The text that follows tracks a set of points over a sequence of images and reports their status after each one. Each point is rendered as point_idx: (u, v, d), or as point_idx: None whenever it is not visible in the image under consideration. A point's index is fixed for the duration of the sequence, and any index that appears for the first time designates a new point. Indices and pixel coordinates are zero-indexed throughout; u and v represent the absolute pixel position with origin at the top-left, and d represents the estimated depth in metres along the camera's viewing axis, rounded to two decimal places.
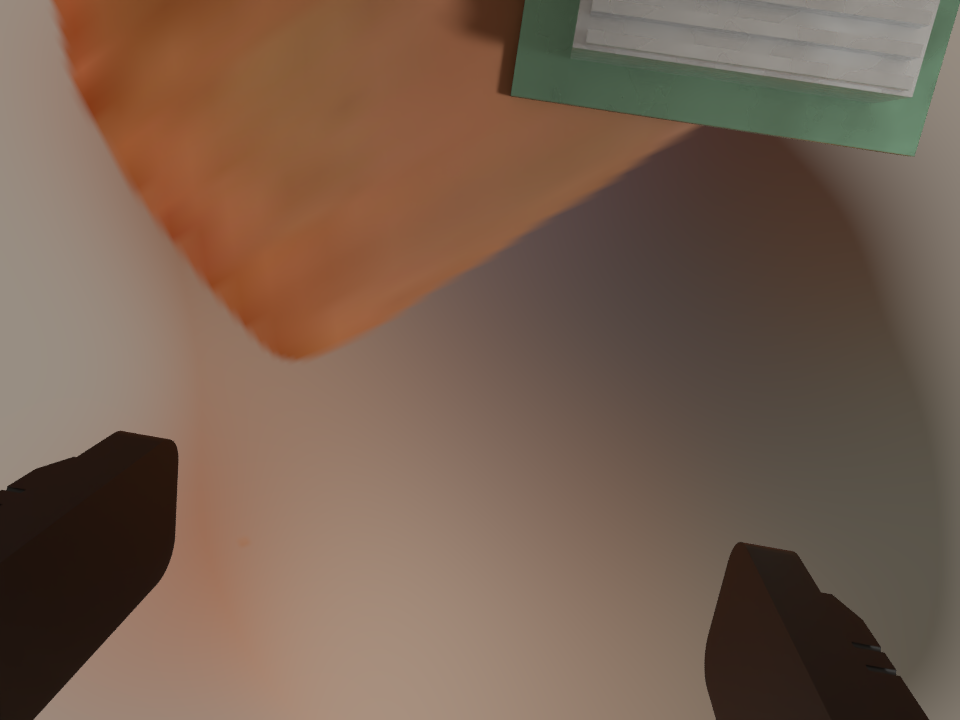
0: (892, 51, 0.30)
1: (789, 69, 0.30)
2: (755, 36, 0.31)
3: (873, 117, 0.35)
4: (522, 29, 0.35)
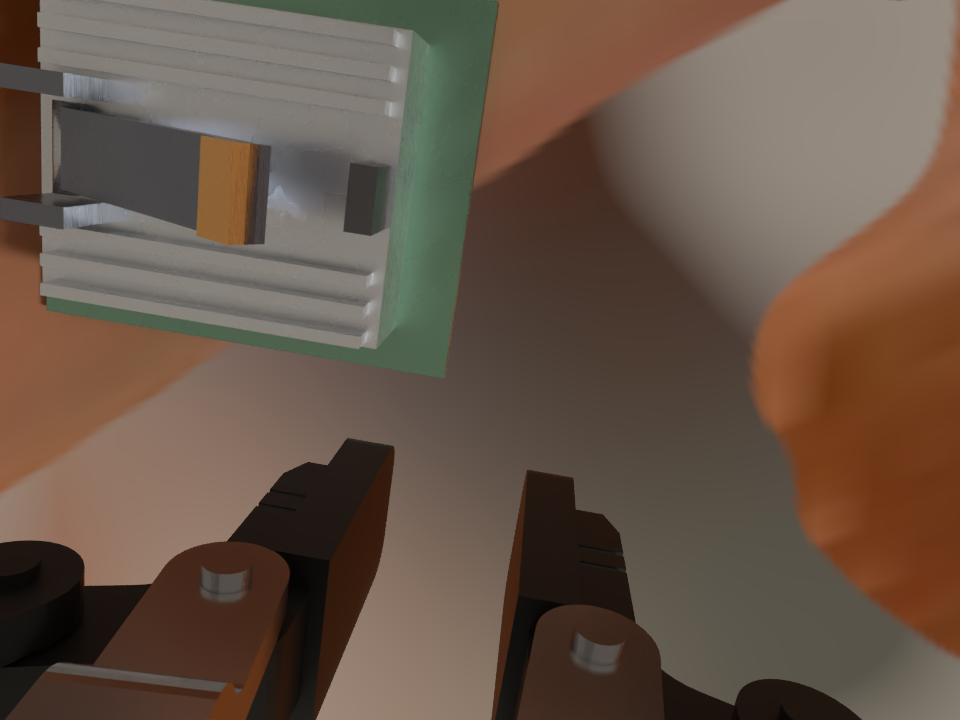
0: (334, 312, 0.29)
1: (239, 326, 0.30)
2: None
3: (398, 340, 0.35)
4: None
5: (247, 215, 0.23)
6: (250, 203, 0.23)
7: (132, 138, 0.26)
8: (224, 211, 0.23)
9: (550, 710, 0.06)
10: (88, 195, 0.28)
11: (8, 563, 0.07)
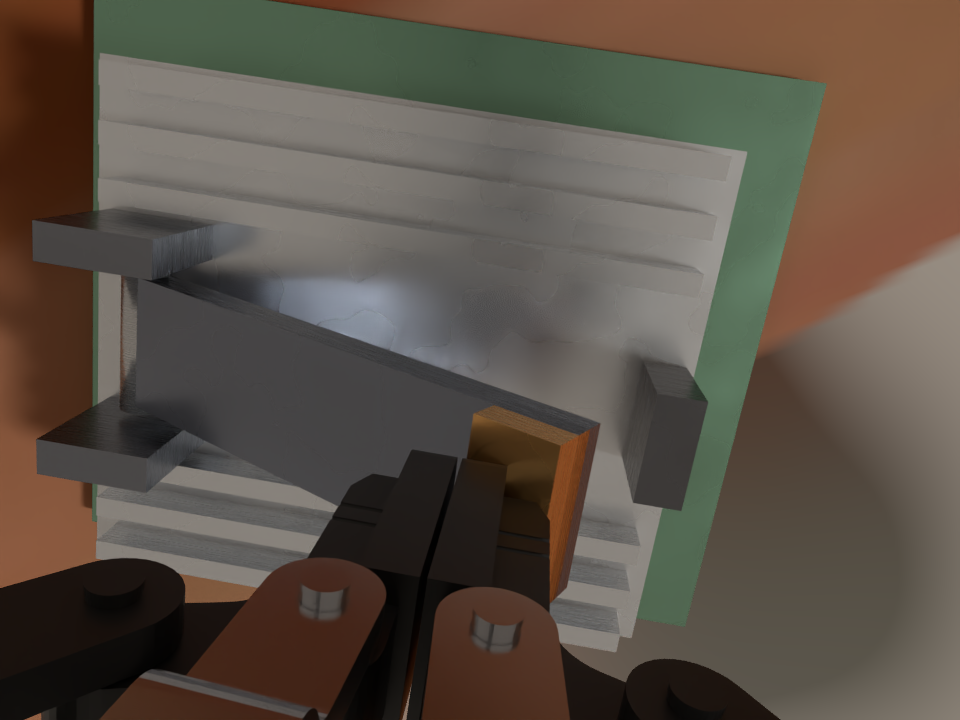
0: (580, 599, 0.18)
1: None
2: None
3: None
4: None
5: (556, 557, 0.12)
6: (562, 536, 0.12)
7: (288, 361, 0.14)
8: None
9: (434, 687, 0.06)
10: (190, 430, 0.16)
11: (113, 584, 0.07)
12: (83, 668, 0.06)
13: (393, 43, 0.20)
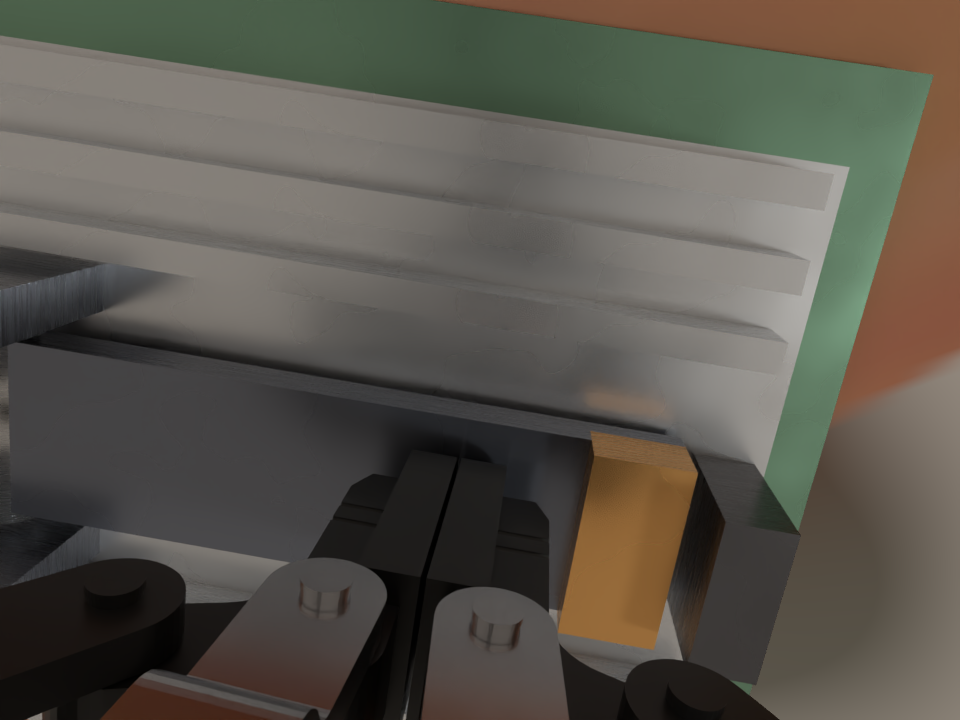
0: None
1: None
2: None
3: None
4: None
5: None
6: None
7: (296, 425, 0.12)
8: (652, 592, 0.12)
9: (434, 687, 0.06)
10: (124, 528, 0.13)
11: (114, 584, 0.07)
12: (83, 668, 0.06)
13: (358, 21, 0.15)
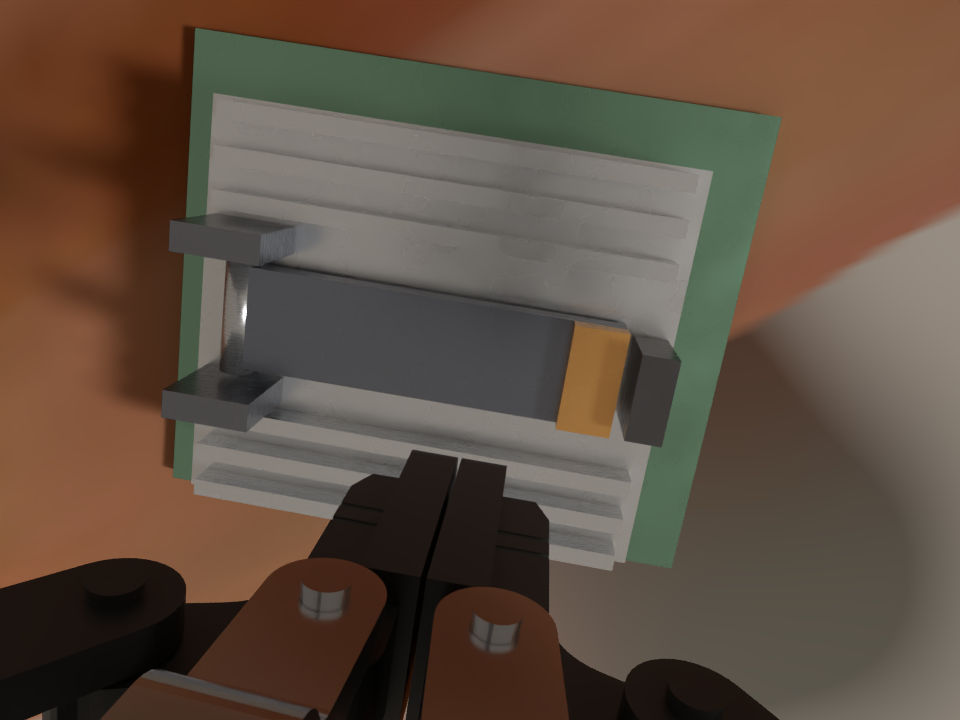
0: (583, 526, 0.23)
1: None
2: None
3: None
4: None
5: None
6: None
7: (410, 314, 0.21)
8: (607, 404, 0.21)
9: (433, 687, 0.06)
10: (307, 377, 0.22)
11: (114, 584, 0.07)
12: (83, 668, 0.06)
13: (434, 83, 0.25)
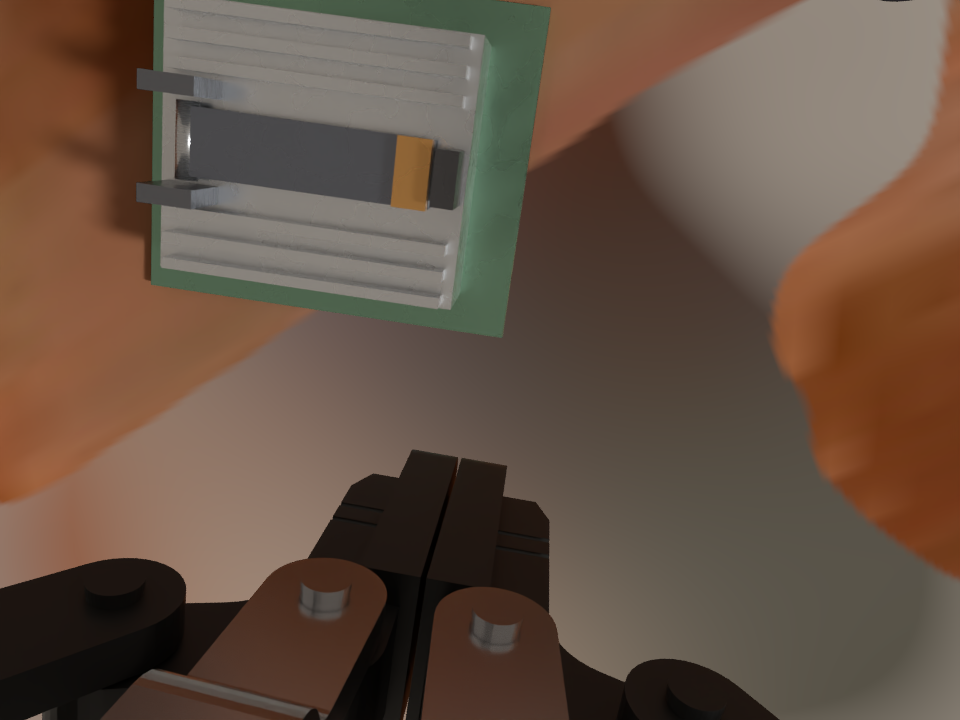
0: (416, 278, 0.34)
1: (334, 291, 0.35)
2: None
3: (462, 305, 0.40)
4: (153, 229, 0.40)
5: (429, 189, 0.33)
6: (430, 181, 0.33)
7: (295, 134, 0.33)
8: (422, 188, 0.33)
9: (433, 687, 0.06)
10: (231, 180, 0.34)
11: (114, 584, 0.07)
12: (83, 668, 0.06)
13: None
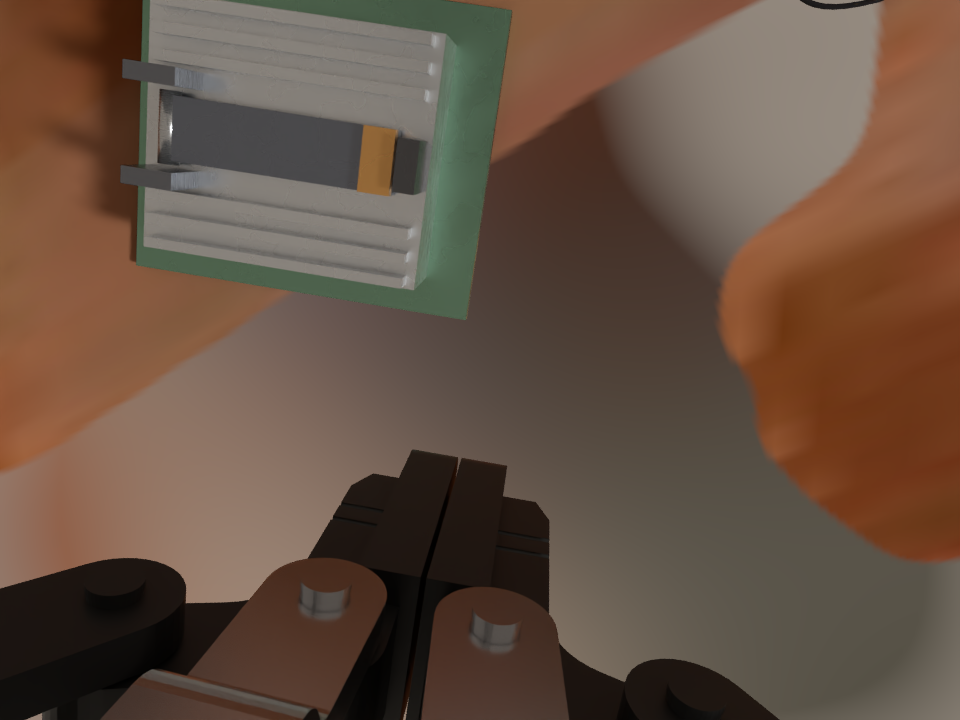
0: (381, 259, 0.37)
1: (305, 271, 0.37)
2: None
3: (428, 288, 0.42)
4: (139, 213, 0.42)
5: None
6: None
7: (269, 123, 0.36)
8: (386, 174, 0.35)
9: (433, 686, 0.06)
10: (210, 165, 0.36)
11: (114, 584, 0.07)
12: (84, 668, 0.06)
13: None
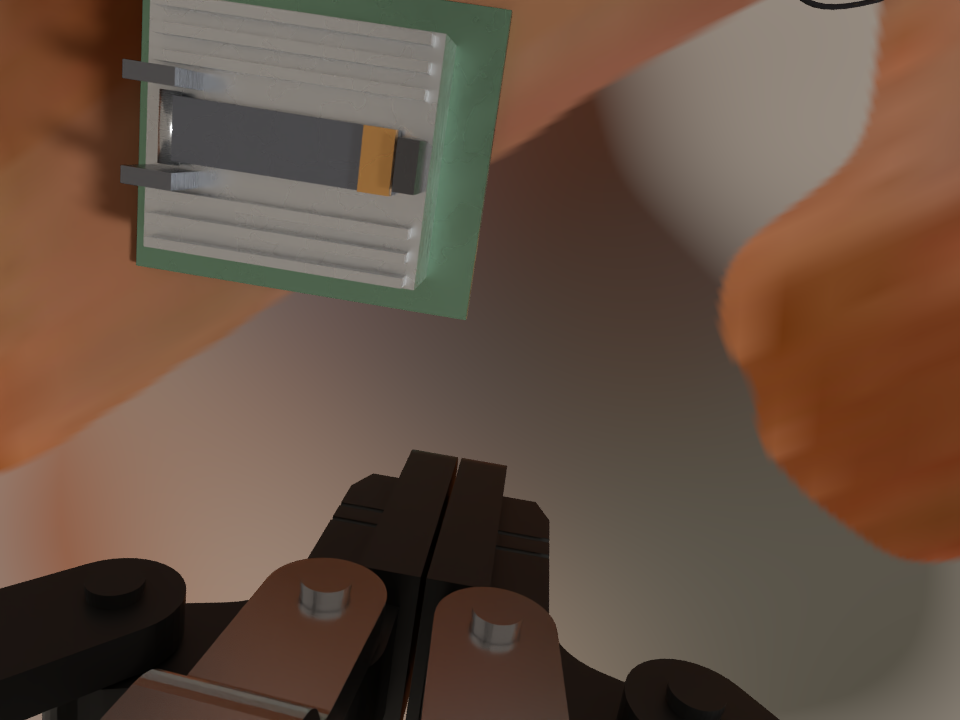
0: (381, 259, 0.37)
1: (305, 271, 0.37)
2: None
3: (428, 288, 0.42)
4: (139, 213, 0.42)
5: None
6: None
7: (269, 123, 0.36)
8: (386, 174, 0.35)
9: (433, 686, 0.06)
10: (210, 165, 0.36)
11: (114, 584, 0.07)
12: (83, 668, 0.06)
13: None
